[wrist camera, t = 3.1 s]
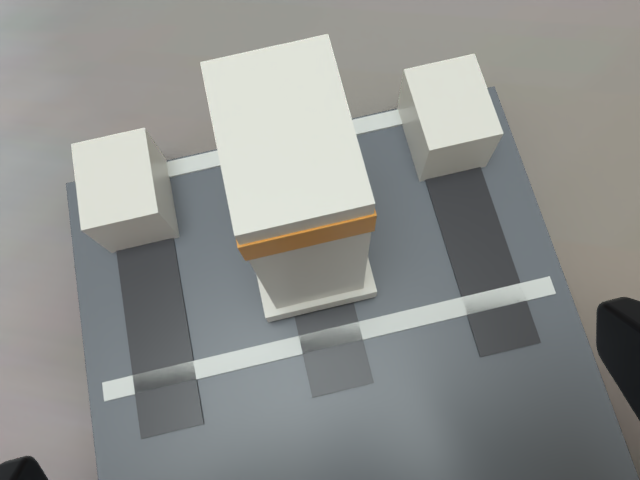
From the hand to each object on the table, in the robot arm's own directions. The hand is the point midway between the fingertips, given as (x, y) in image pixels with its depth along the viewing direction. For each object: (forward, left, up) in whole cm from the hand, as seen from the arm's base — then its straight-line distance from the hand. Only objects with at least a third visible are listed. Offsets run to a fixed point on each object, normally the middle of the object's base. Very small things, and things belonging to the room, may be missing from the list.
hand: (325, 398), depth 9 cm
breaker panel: (+2, +2, -11) cm, 12 cm away
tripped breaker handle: (+3, +4, -10) cm, 11 cm away
